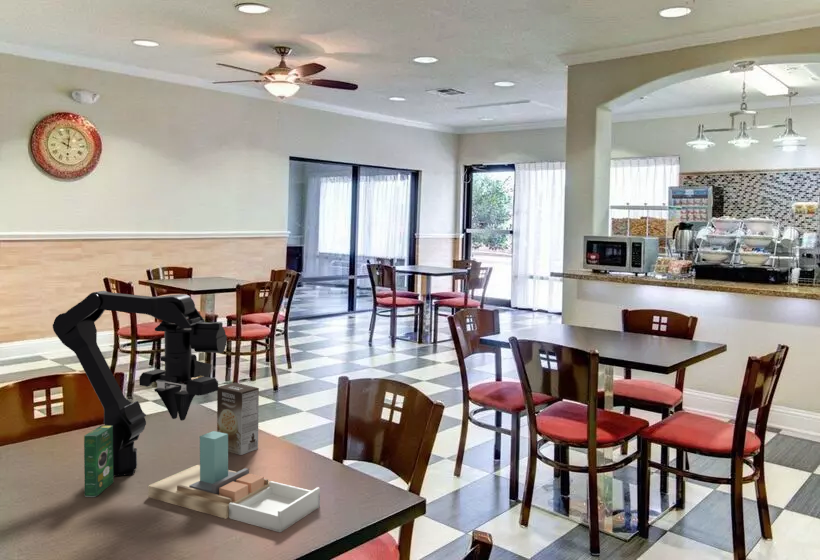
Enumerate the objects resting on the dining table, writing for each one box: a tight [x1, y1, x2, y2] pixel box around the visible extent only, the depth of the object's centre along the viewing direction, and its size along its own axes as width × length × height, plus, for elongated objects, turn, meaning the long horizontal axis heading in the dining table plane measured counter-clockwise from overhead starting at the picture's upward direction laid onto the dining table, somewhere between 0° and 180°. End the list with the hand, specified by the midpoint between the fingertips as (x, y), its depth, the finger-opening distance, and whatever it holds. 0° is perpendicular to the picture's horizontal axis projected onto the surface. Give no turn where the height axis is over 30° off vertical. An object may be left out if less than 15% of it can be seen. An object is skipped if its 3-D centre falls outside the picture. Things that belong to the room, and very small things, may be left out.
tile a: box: [236, 473, 265, 493], centre depth 138 cm, size 4×4×2 cm
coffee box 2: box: [216, 381, 260, 456], centre depth 168 cm, size 9×6×16 cm
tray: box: [228, 480, 321, 533], centre depth 132 cm, size 12×13×4 cm
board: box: [147, 464, 270, 520], centre depth 140 cm, size 21×14×4 cm, turn 64°
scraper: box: [189, 430, 250, 495], centre depth 138 cm, size 7×10×10 cm
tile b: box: [219, 481, 248, 502], centre depth 133 cm, size 4×4×2 cm
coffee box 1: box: [83, 424, 114, 498], centre depth 141 cm, size 8×3×13 cm, turn 0°
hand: (178, 419), depth 149 cm, fingers open, 2 cm apart
